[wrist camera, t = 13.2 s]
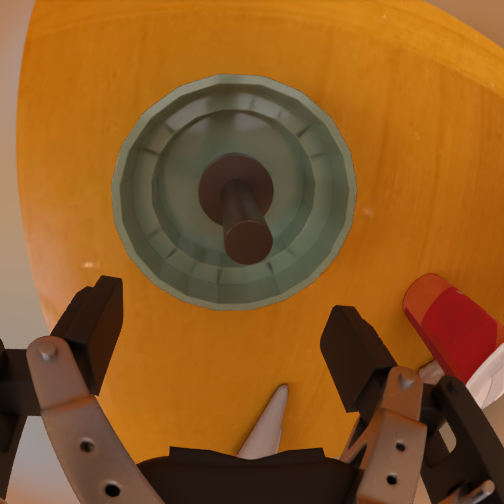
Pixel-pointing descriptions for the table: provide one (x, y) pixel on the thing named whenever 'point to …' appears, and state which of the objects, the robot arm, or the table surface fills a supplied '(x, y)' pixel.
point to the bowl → (189, 175)
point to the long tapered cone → (267, 429)
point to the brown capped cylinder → (239, 204)
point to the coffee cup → (458, 336)
